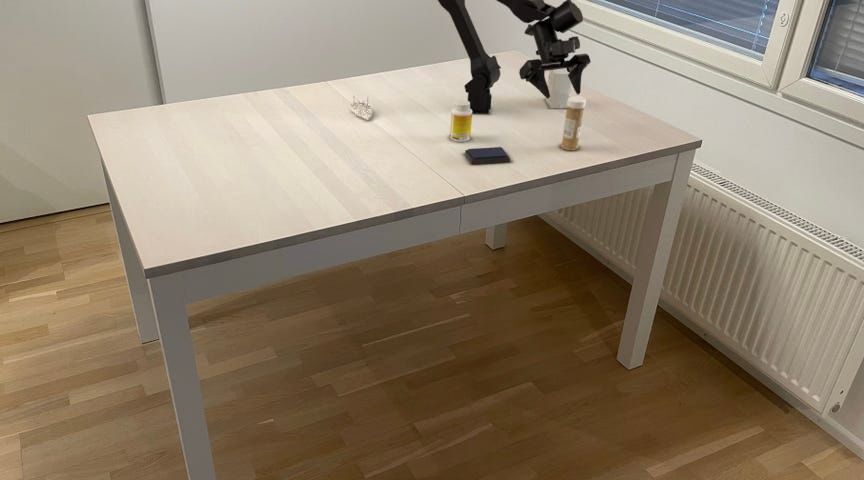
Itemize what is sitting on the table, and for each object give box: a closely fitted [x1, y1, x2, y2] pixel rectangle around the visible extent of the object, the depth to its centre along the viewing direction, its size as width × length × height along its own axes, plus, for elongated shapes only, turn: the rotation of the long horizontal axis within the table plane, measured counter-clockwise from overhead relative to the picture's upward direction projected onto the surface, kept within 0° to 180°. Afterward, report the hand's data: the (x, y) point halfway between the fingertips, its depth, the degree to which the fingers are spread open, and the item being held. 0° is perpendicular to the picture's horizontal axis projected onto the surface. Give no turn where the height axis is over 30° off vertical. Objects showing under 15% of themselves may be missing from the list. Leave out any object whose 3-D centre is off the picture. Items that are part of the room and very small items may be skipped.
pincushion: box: [348, 95, 374, 120], centre depth 209 cm, size 12×6×6 cm, turn 19°
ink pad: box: [464, 146, 511, 165], centre depth 185 cm, size 10×6×2 cm, turn 99°
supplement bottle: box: [449, 99, 473, 143], centre depth 193 cm, size 6×6×10 cm
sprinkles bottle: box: [560, 95, 587, 151], centre depth 188 cm, size 5×5×13 cm
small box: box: [545, 68, 573, 109], centre depth 216 cm, size 8×6×10 cm
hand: (563, 95), depth 189 cm, fingers open, 9 cm apart
